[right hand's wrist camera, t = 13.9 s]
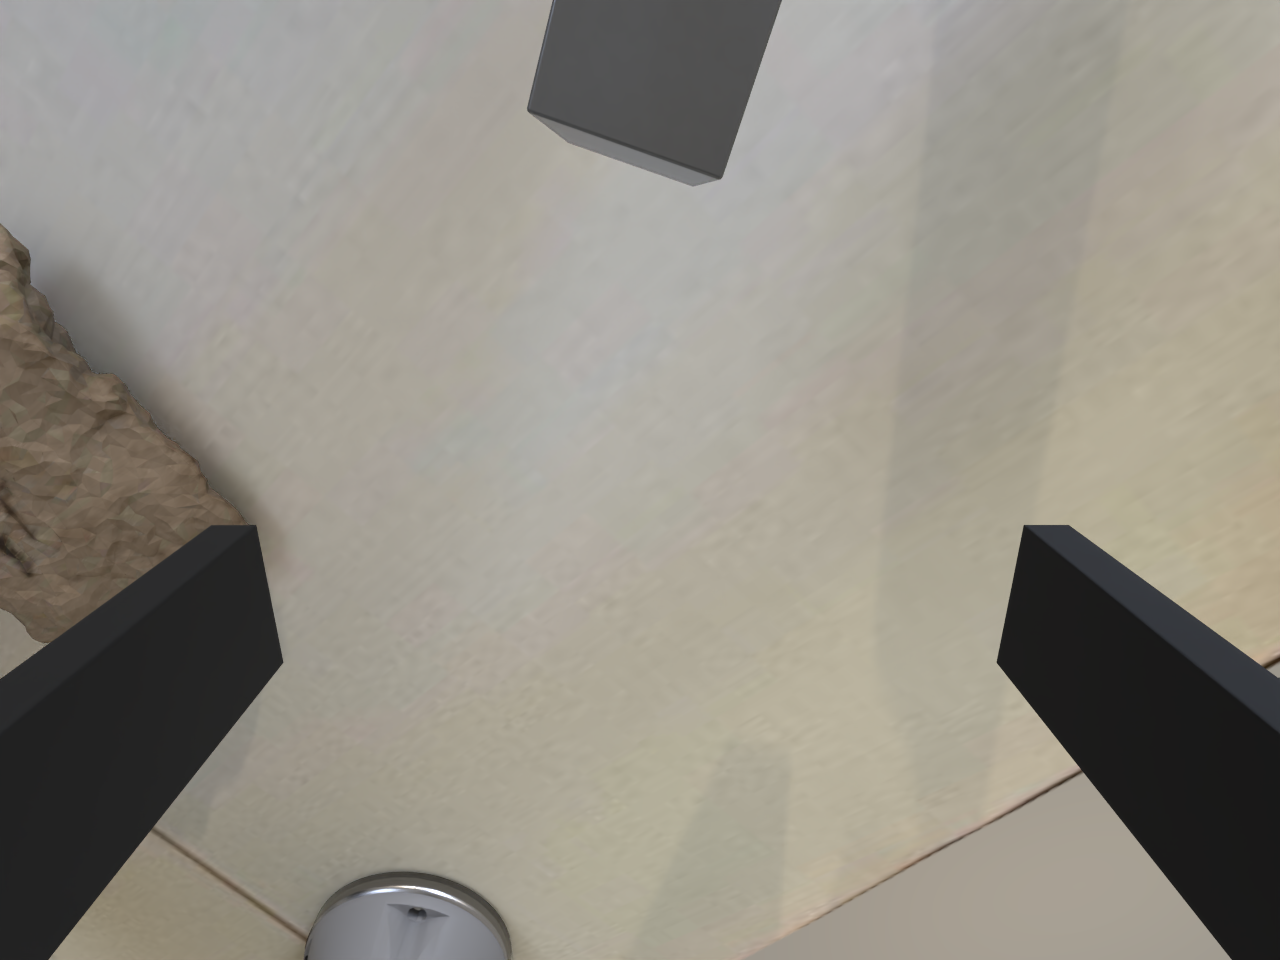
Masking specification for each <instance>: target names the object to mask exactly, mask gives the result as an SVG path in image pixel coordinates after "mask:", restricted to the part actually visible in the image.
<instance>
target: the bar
mask: <svg viewBox="0 0 1280 960" xmlns="http://www.w3.org/2000/svg"><path fill="white" fill-rule="evenodd" d="M781 1H782V0H553V2H552V6H551V10H550V14H549V19H548V23H547V27H546V31H545V35H544V40H543V44H542V48H541V52H540V56H539V60H538V65H537V69H536V73H535V77H534V81H533V86H532V90H531V94H530V98H529V102H528V106H527V111H528V112H529V113H530V114H532V115H533V116H534V117H536V118H537V119H538V120H539V121H541V122H542V123H543V124H545V125H546V126H547V127H548V128H550V129H551V130H552V131H554V132H555V133H556V134H558V135H559V136H560V137H561V138H563V139H564V140H565V141H567V142H568V143H570V144H573V145H576V146H579V147H582V148H585V149H588V150H590V151H593V152H596V153H599V154H602V155H605V156H608V157H610V158H613V159H616V160H619V161H622V162H625V163H627V164H630V165H633V166H636V167H639V168H642V169H645V170H647V171H650V172H653V173H656V174H659V175H662V176H665V177H667V178H670V179H673V180H676V181H679V182H682V183H684V184H687V185H690V186H697V185H701V184H705V183H708V182H712V181H716V180H720V179H721V178H722V177H723V174H724V171H725V168H726V165H727V162H728V159H729V156H730V153H731V150H732V147H733V144H734V141H735V138H736V135H737V132H738V129H739V126H740V123H741V120H742V117H743V114H744V111H745V108H746V105H747V102H748V100H749V97H750V94H751V91H752V88H753V85H754V82H755V79H756V76H757V73H758V70H759V67H760V64H761V61H762V58H763V55H764V52H765V49H766V46H767V43H768V40H769V37H770V34H771V31H772V28H773V25H774V22H775V19H776V16H777V13H778V10H779V7H780V4H781Z"/></svg>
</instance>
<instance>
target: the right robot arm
mask: <svg viewBox="0 0 1280 960" xmlns="http://www.w3.org/2000/svg"><path fill="white" fill-rule="evenodd" d="M282 664H283V658H282V653H281V648H280V643H279V638H278V633H277V628H276V623H275V618H274V613H273V608H272V603H271V598H270V593H269V588H268V583H267V578H266V573H265V568H264V563H263V557H262V552H261V547H260V542H259V537H258V532H257V527H256V525H211V526H209V527H208V528H207V529H205V530H204V531H203V532H201V533H200V534H198V535H197V536H196V537H194V538H193V539H192V540H190V541H189V542H188V543H186V544H185V545H183V546H182V547H181V548H179V549H178V550H177V551H175V552H174V553H172V554H171V555H170V556H168V557H167V558H166V559H164V560H163V561H162V562H160V563H159V564H157V565H156V566H155V567H153V568H152V569H151V570H149V571H148V572H146V573H145V574H144V575H142V576H141V577H140V578H138V579H137V580H136V581H134V582H133V583H131V584H130V585H129V586H127V587H126V588H125V589H123V590H122V591H120V592H119V593H118V594H116V595H115V596H114V597H112V598H111V599H109V600H108V601H107V602H105V603H104V604H103V605H101V606H100V607H99V608H97V609H96V610H94V611H93V612H92V613H90V614H89V615H88V616H86V617H85V618H83V619H82V620H81V621H79V622H78V623H77V624H75V625H74V626H73V627H71V628H70V629H68V630H67V631H66V632H64V633H63V634H62V635H60V636H59V637H57V638H56V639H55V640H53V641H52V642H51V643H49V644H48V645H47V646H45V647H44V648H42V649H41V650H40V651H38V652H37V653H36V654H34V655H33V656H31V657H30V658H29V659H27V660H26V661H25V662H23V663H22V664H20V665H19V666H18V667H16V668H15V669H14V670H12V671H11V672H10V673H8V674H7V675H5V676H4V677H3V678H1V679H0V960H48V959H49V958H50V957H51V955H52V954H53V953H54V952H55V950H56V949H57V948H58V947H59V945H60V944H61V943H62V942H63V940H64V939H65V938H66V936H67V935H68V934H69V933H70V931H71V930H72V929H73V928H74V926H75V925H76V924H77V923H78V921H79V920H80V919H81V918H82V916H83V915H84V914H85V912H86V911H87V910H88V909H89V907H90V906H91V905H92V904H93V902H94V901H95V900H96V899H97V897H98V896H99V895H100V894H101V892H102V891H103V890H104V888H105V887H106V886H107V885H108V883H109V882H110V881H111V880H112V878H113V877H114V876H115V875H116V873H117V872H118V871H119V870H120V868H121V867H122V866H123V864H124V863H125V862H126V861H127V859H128V858H129V857H130V856H131V854H132V853H133V852H134V851H135V849H136V848H137V847H138V846H139V844H140V843H141V842H142V840H143V839H144V838H145V837H146V835H147V834H148V833H149V832H150V830H151V829H152V828H153V827H154V825H155V824H156V823H157V822H158V820H159V819H160V818H161V816H162V815H163V814H164V813H165V811H166V810H167V809H168V808H169V806H170V805H171V804H172V803H173V801H174V800H175V799H176V798H177V796H178V795H179V794H180V792H181V791H182V790H183V789H184V787H185V786H186V785H187V784H188V782H189V781H190V780H191V779H192V777H193V776H194V775H195V774H196V772H197V771H198V770H199V768H200V767H201V766H202V765H203V763H204V762H205V761H206V760H207V758H208V757H209V756H210V755H211V753H212V752H213V751H214V750H215V748H216V747H217V746H218V744H219V743H220V742H221V741H222V739H223V738H224V737H225V736H226V734H227V733H228V732H229V731H230V729H231V728H232V727H233V726H234V724H235V723H236V722H237V720H238V719H239V718H240V717H241V715H242V714H243V713H244V712H245V710H246V709H247V708H248V707H249V705H250V704H251V703H252V702H253V700H254V699H255V698H256V696H257V695H258V694H259V693H260V691H261V690H262V689H263V688H264V686H265V685H266V684H267V683H268V681H269V680H270V679H271V678H272V676H273V675H274V674H275V672H276V671H277V670H278V669H279V667H280V666H281V665H282ZM997 664H998V665H999V666H1000V667H1001V669H1002V670H1003V671H1004V672H1005V674H1006V675H1007V676H1008V678H1009V679H1010V680H1011V681H1012V683H1013V684H1014V685H1015V686H1016V688H1017V689H1018V690H1019V691H1020V693H1021V694H1022V695H1023V696H1024V698H1025V699H1026V700H1027V702H1028V703H1029V704H1030V705H1031V707H1032V708H1033V709H1034V710H1035V712H1036V713H1037V714H1038V715H1039V717H1040V718H1041V719H1042V720H1043V722H1044V723H1045V724H1046V726H1047V727H1048V728H1049V729H1050V731H1051V732H1052V733H1053V734H1054V736H1055V737H1056V738H1057V739H1058V741H1059V742H1060V743H1061V744H1062V746H1063V747H1064V748H1065V750H1066V751H1067V752H1068V753H1069V755H1070V756H1071V757H1072V758H1073V760H1074V761H1075V762H1076V763H1077V765H1078V766H1079V767H1080V768H1081V770H1082V771H1083V772H1084V774H1085V775H1086V776H1087V777H1088V779H1089V780H1090V781H1091V782H1092V784H1093V785H1094V786H1095V787H1096V789H1097V790H1098V791H1099V792H1100V794H1101V795H1102V796H1103V798H1104V799H1105V800H1106V801H1107V803H1108V804H1109V805H1110V806H1111V808H1112V809H1113V810H1114V811H1115V813H1116V814H1117V815H1118V816H1119V818H1120V819H1121V820H1122V822H1123V823H1124V824H1125V825H1126V827H1127V828H1128V829H1129V830H1130V832H1131V833H1132V834H1133V835H1134V837H1135V838H1136V839H1137V840H1138V842H1139V843H1140V844H1141V845H1142V847H1143V848H1144V849H1145V851H1146V852H1147V853H1148V854H1149V856H1150V857H1151V858H1152V859H1153V861H1154V862H1155V863H1156V864H1157V866H1158V867H1159V868H1160V869H1161V871H1162V872H1163V873H1164V875H1165V876H1166V877H1167V878H1168V880H1169V881H1170V882H1171V883H1172V885H1173V886H1174V887H1175V888H1176V890H1177V891H1178V892H1179V893H1180V895H1181V896H1182V897H1183V899H1184V900H1185V901H1186V902H1187V904H1188V905H1189V906H1190V907H1191V909H1192V910H1193V911H1194V912H1195V914H1196V915H1197V916H1198V918H1199V919H1200V920H1201V921H1202V923H1203V924H1204V925H1205V926H1206V928H1207V929H1208V930H1209V931H1210V933H1211V934H1212V935H1213V936H1214V938H1215V939H1216V940H1217V941H1218V943H1219V944H1220V945H1221V947H1222V948H1223V949H1224V950H1225V952H1226V953H1227V954H1228V955H1229V957H1230V958H1231V959H1232V960H1280V678H1277V677H1276V676H1275V675H1273V674H1272V673H1270V672H1269V671H1268V670H1266V669H1265V668H1264V667H1262V666H1261V665H1260V664H1258V663H1257V662H1255V661H1254V660H1253V659H1251V658H1250V657H1249V656H1247V655H1246V654H1244V653H1243V652H1242V651H1240V650H1239V649H1238V648H1236V647H1235V646H1233V645H1232V644H1231V643H1229V642H1228V641H1227V640H1225V639H1224V638H1223V637H1221V636H1220V635H1218V634H1217V633H1216V632H1214V631H1213V630H1212V629H1210V628H1209V627H1207V626H1206V625H1205V624H1203V623H1202V622H1201V621H1199V620H1198V619H1197V618H1195V617H1194V616H1192V615H1191V614H1190V613H1188V612H1187V611H1186V610H1184V609H1183V608H1181V607H1180V606H1179V605H1177V604H1176V603H1175V602H1173V601H1172V600H1171V599H1169V598H1168V597H1166V596H1165V595H1164V594H1162V593H1161V592H1160V591H1158V590H1157V589H1155V588H1154V587H1153V586H1151V585H1150V584H1149V583H1147V582H1146V581H1144V580H1143V579H1142V578H1140V577H1139V576H1138V575H1136V574H1135V573H1134V572H1132V571H1131V570H1129V569H1128V568H1127V567H1125V566H1124V565H1123V564H1121V563H1120V562H1118V561H1117V560H1116V559H1114V558H1113V557H1112V556H1110V555H1109V554H1108V553H1106V552H1105V551H1103V550H1102V549H1101V548H1099V547H1098V546H1097V545H1095V544H1094V543H1092V542H1091V541H1090V540H1088V539H1087V538H1086V537H1084V536H1083V535H1082V534H1080V533H1079V532H1077V531H1076V530H1075V529H1073V528H1072V527H1071V526H1069V525H1024V527H1023V532H1022V537H1021V542H1020V547H1019V552H1018V557H1017V563H1016V568H1015V573H1014V578H1013V583H1012V588H1011V593H1010V598H1009V603H1008V608H1007V613H1006V618H1005V623H1004V628H1003V633H1002V638H1001V643H1000V648H999V653H998V658H997ZM510 959H511V942H510V937H509V934H508V931H507V928H506V926H505V924H504V922H503V921H502V919H501V917H500V916H499V915H498V913H497V912H496V911H495V910H494V909H493V908H492V907H491V905H490V904H489V903H487V902H486V901H485V900H484V899H483V898H481V897H480V896H479V895H477V894H476V893H474V892H473V891H471V890H469V889H468V888H466V887H464V886H462V885H460V884H458V883H455V882H453V881H450V880H447V879H444V878H441V877H437V876H433V875H429V874H423V873H414V872H389V873H382V874H376V875H372V876H368V877H365V878H362V879H359V880H357V881H354V882H352V883H350V884H348V885H346V886H344V887H343V888H341V889H340V890H338V891H337V892H336V893H335V894H333V895H332V896H331V897H330V898H329V899H328V900H327V901H326V903H325V904H324V906H323V907H322V908H321V910H320V912H319V914H318V916H317V918H316V920H315V923H314V925H313V927H312V929H311V931H310V934H309V936H308V939H307V942H306V946H305V953H304V960H510Z"/></svg>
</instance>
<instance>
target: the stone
mask: <svg viewBox="0 0 1280 960" xmlns="http://www.w3.org/2000/svg"><path fill="white" fill-rule="evenodd" d="M30 261H31V259H30V255H29V251H28V249H27V248H26V247H25V246H24V245H22V244H21V243H20V242H19V241H18V240H16V239H15V238H14V237H13V236H12V235H11V234H10V233H9V231H8V230H7V229H6V228H5V227H4V226H3V225H2V224H0V608H1V609H3V610H6V611H8V612H10V613H12V614H13V615H14V616H15V617H16V618H17V619H18V620H19V621H20V622H21V623H22V624H23V625H24V626H25V627H26V630H27V632H28V633H29V635H30V636H31V637H32V638H33V639H35V640H37V641H39V642H43V643H49V642H52V641H53V640H55V639H56V638H57V637H59V636H60V635H62V634H63V633H64V632H66V631H67V630H68V629H70V628H71V627H73V626H74V625H75V624H77V623H78V622H79V621H81V620H82V619H83V618H85V617H86V616H88V615H89V614H90V613H92V612H93V611H94V610H96V609H97V608H99V607H100V606H101V605H103V604H104V603H105V602H107V601H108V600H109V599H111V598H112V597H114V596H115V595H116V594H118V593H119V592H120V591H122V590H123V589H125V588H126V587H127V586H129V585H130V584H131V583H133V582H134V581H136V580H137V579H138V578H140V577H141V576H142V575H144V574H145V573H146V572H148V571H149V570H151V569H152V568H153V567H155V566H156V565H157V564H159V563H160V562H162V561H163V560H164V559H166V558H167V557H168V556H170V555H171V554H172V553H174V552H175V551H177V550H178V549H179V548H181V547H182V546H183V545H185V544H186V543H188V542H189V541H190V540H192V539H193V538H194V537H196V536H197V535H198V534H200V533H201V532H203V531H204V530H205V529H207V528H208V527H209V526H211V525H249V524H248V523H246V522H245V521H244V519H243V518H242V516H241V514H240V513H239V512H238V510H236V509H235V508H234V507H233V506H232V505H231V504H230V503H229V502H228V501H227V500H225V499H224V498H223V497H222V496H221V495H220V494H218V493H217V492H215V491H214V490H213V489H212V488H211V487H210V485H209V484H208V481H207V479H206V478H205V477H204V475H203V474H202V473H201V470H200V467H199V463H198V461H197V460H195V459H194V458H193V457H191V456H190V455H189V454H188V453H186V452H185V451H183V450H182V449H181V448H180V447H179V445H178V444H177V443H176V442H174V441H172V440H170V439H168V438H167V437H166V436H165V435H164V434H163V433H162V432H161V431H160V430H159V429H158V428H157V427H156V425H155V424H154V422H153V420H152V419H151V415H150V413H149V412H148V411H146V410H145V409H144V408H142V407H141V406H140V405H139V404H138V402H137V401H136V400H135V399H134V398H133V397H132V395H131V394H130V393H129V391H128V388H127V387H126V385H125V384H124V383H123V382H122V381H121V380H120V379H119V378H118V377H117V376H116V375H114V374H95V373H93V372H92V371H91V370H90V368H89V366H88V364H87V362H86V361H85V360H84V359H83V358H82V357H81V356H79V355H78V354H76V352H75V349H74V347H73V344H72V341H71V339H70V336H69V335H68V333H67V331H66V330H65V329H64V328H63V327H62V326H61V325H59V324H57V323H56V322H54V316H53V311H52V310H51V309H50V307H49V304H48V302H47V300H46V297H45V296H44V295H43V294H41V293H40V292H39V291H37V290H36V289H35V288H34V287H32V286H31V285H30V283H31V281H30Z"/></svg>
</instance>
